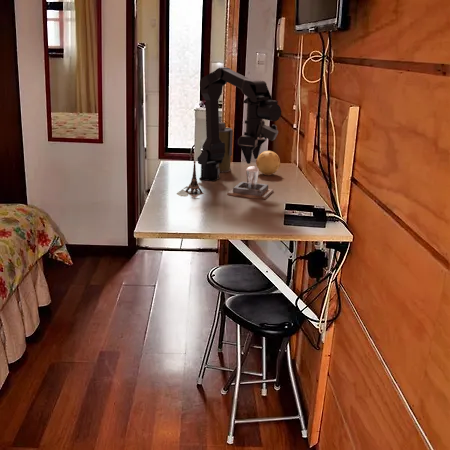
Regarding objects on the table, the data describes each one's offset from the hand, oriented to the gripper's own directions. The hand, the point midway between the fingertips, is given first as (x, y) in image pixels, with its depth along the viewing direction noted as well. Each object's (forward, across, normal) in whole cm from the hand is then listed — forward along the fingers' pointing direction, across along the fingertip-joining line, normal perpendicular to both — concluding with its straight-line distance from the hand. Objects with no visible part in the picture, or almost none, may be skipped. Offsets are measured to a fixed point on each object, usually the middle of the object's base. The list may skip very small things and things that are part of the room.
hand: (252, 161), depth 203 cm
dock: (+12, 0, 0) cm, 12 cm away
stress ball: (+12, +31, +2) cm, 33 cm away
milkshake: (+11, 0, 0) cm, 11 cm away
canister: (+12, +30, +23) cm, 40 cm away
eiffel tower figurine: (+13, -9, +19) cm, 25 cm away
